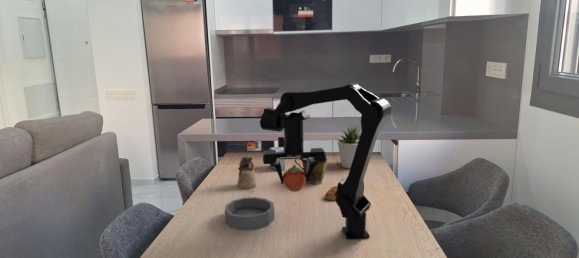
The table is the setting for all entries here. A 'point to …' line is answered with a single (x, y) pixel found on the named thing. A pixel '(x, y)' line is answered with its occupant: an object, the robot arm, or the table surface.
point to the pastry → (331, 193)
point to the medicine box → (282, 162)
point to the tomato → (294, 179)
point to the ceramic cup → (315, 171)
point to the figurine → (246, 174)
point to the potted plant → (348, 146)
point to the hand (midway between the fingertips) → (294, 182)
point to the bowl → (249, 213)
